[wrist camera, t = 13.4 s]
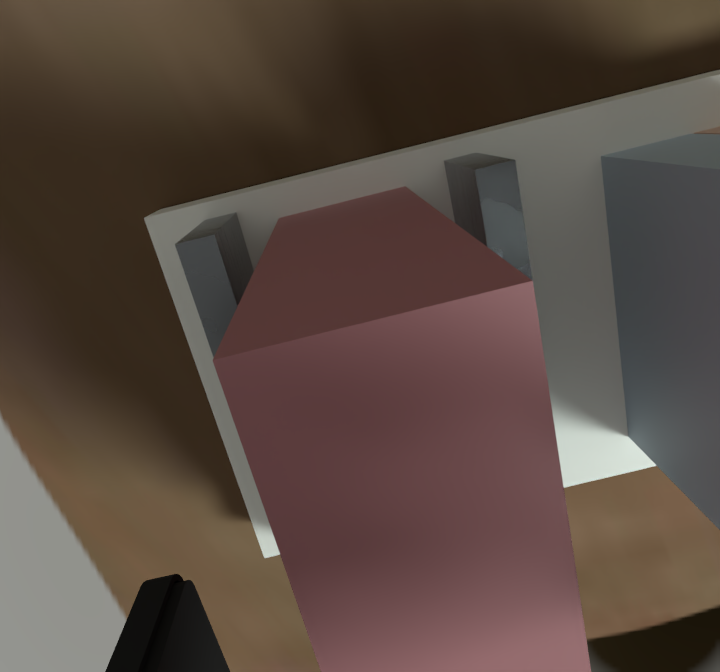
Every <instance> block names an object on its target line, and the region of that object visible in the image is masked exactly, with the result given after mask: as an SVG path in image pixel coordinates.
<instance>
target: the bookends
mask: <svg viewBox="0 0 720 672" xmlns="http://www.w3.org/2000/svg"><path fill="white" fill-rule="evenodd" d="M444 165H445V170H446V176H447V181H448V187H449V192H450V198H451V203H452V209H453V214H454V219H455V223H456V224H457V225H458V226H460V227H461V228H462V229H464V230H465V231H466V232H468V233H469V234H470V235H472V236H473V237H474V238H476V239H477V240H479V241H480V242H481V243H483V244H484V245H485V246H487V247H488V248H489V249H491V250H492V251H493V252H495V253H496V254H497V255H499V256H500V257H501V258H503V259H504V260H505V261H507V262H508V263H510V264H511V265H512V266H514V267H515V268H516V269H518V270H519V271H520V272H522V273H523V274H524V275H526V276H527V277H528V278H530V279H531V280H532V281H533V278H532V272H531V265H530V258H529V251H528V244H527V237H526V230H525V223H524V216H523V209H522V202H521V195H520V188H519V181H518V175H517V168H516V161H515V160H514V159H509V158H503V157H498V156H492V155H487V154H481V153H472V154H468V155H464V156H460V157H456V158H452V159H448V160H444ZM175 247H176V250H177V252H178V255H179V258H180V261H181V264H182V267H183V270H184V273H185V276H186V279H187V282H188V285H189V287H190V290H191V293H192V296H193V299H194V302H195V305H196V308H197V311H198V314H199V317H200V320H201V322H202V325H203V328H204V331H205V334H206V337H207V340H208V343H209V346H210V349H211V352H212V355H213V357H214V356H215V354H216V352H217V349H218V347H219V345H220V343H221V341H222V339H223V337H224V334H225V332H226V330H227V328H228V326H229V324H230V322H231V319H232V317H233V315H234V313H235V311H236V309H237V307H238V304H239V302H240V300H241V298H242V296H243V294H244V292H245V289H246V287H247V285H248V283H249V281H250V279H251V277H252V274H253V272H254V269H253V266H252V263H251V259H250V256H249V253H248V249H247V246H246V243H245V240H244V236H243V233H242V230H241V226H240V223H239V220H238V216H237V213H236V212H235V213H231V214H227V215H223V216H219V217H215V218H211V219H207V220H204V221H203V222H202V223H200V224H199V225H198V226H197V227H195V228H194V229H193V230H192V231H191V232H189V233H188V234H187V235H186V236H184V237H183V238H182V239H181V240H179V241H178V242H177V243H176V244H175ZM533 286H534V285H533Z"/></svg>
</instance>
